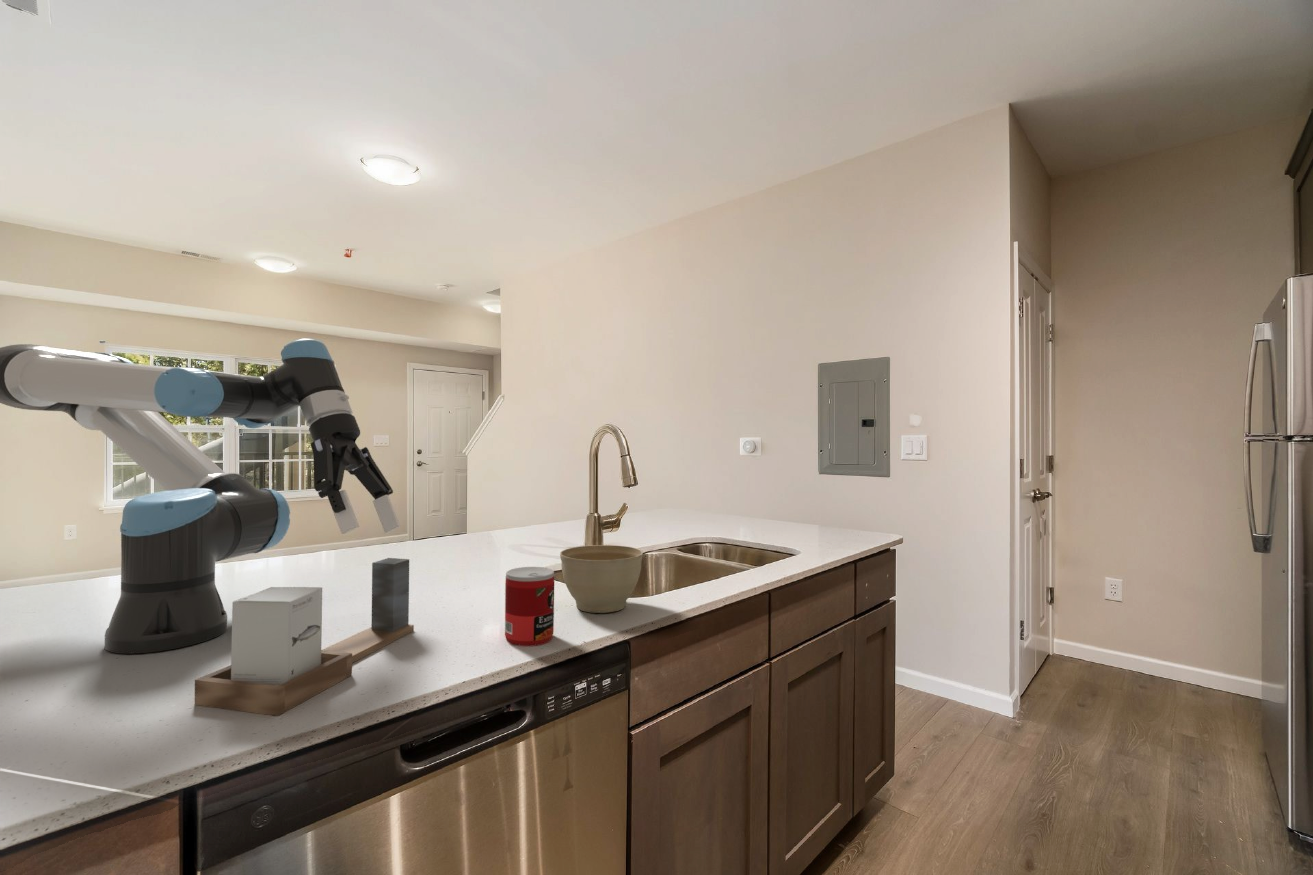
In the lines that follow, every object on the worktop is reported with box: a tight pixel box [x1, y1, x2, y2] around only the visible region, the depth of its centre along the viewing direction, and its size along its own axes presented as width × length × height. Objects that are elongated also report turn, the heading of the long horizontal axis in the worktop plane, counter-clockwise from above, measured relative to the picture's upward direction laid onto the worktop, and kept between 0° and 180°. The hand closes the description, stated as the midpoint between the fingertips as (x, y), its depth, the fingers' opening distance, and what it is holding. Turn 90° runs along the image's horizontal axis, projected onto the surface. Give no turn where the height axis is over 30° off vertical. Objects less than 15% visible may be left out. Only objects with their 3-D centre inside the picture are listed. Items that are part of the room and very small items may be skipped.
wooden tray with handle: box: [194, 557, 415, 717], centre depth 84 cm, size 12×30×12 cm, turn 168°
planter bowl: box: [559, 544, 644, 614], centre depth 114 cm, size 16×16×11 cm
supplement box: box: [230, 586, 323, 686], centre depth 75 cm, size 7×7×13 cm
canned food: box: [504, 566, 555, 647], centre depth 96 cm, size 8×8×11 cm
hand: (373, 530), depth 100 cm, fingers open, 13 cm apart
